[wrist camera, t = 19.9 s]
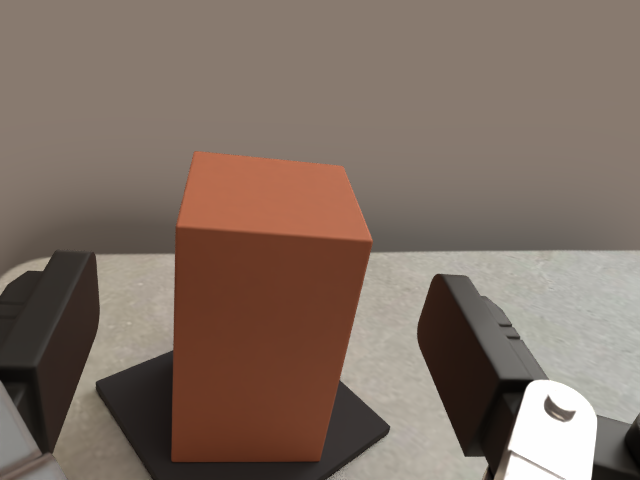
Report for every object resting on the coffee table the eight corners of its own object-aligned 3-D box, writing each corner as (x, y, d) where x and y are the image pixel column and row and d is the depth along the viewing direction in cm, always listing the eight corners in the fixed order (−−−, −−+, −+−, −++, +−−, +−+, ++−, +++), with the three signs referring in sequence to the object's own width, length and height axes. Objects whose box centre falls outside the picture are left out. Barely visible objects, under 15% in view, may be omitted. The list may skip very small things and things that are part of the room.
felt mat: (208, 565, 15) (208, 558, 15) (96, 388, 20) (95, 381, 19) (388, 433, 20) (391, 426, 20) (265, 318, 25) (266, 312, 24)
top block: (320, 462, 18) (373, 240, 13) (170, 463, 17) (175, 225, 12) (306, 359, 22) (343, 165, 18) (186, 355, 21) (194, 150, 17)
